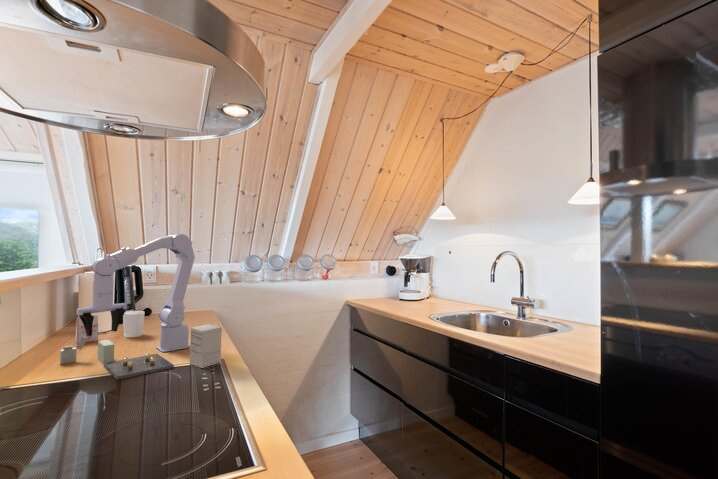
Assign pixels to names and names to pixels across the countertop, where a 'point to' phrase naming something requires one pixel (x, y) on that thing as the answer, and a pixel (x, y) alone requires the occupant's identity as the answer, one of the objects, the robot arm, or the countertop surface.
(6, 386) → the countertop surface
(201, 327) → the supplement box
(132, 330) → the white cup
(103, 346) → the sage block
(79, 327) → the printed carton
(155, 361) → the standoff plate
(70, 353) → the lighter
